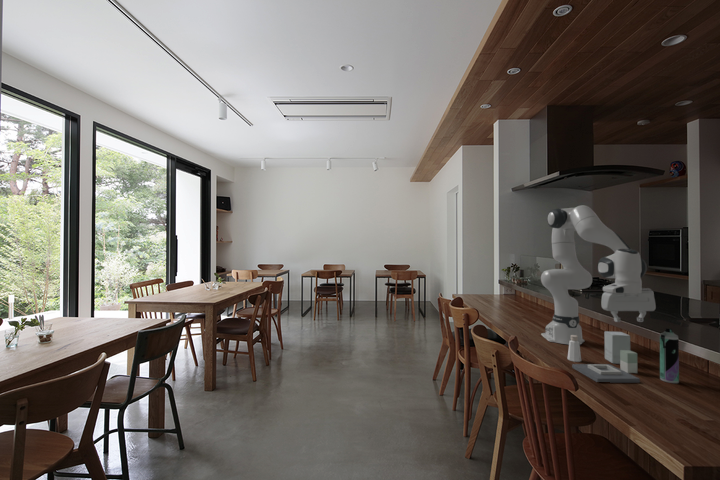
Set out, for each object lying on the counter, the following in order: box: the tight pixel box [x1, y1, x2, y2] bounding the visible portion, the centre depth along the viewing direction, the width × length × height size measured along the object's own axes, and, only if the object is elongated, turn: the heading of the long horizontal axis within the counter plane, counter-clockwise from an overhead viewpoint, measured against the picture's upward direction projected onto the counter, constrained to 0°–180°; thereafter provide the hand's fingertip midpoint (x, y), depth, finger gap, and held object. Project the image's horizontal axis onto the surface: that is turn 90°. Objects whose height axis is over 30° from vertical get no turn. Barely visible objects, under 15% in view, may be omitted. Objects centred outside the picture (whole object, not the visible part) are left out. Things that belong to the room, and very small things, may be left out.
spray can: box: [659, 328, 680, 384], centre depth 136 cm, size 6×6×20 cm
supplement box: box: [604, 331, 631, 365], centre depth 158 cm, size 7×7×13 cm
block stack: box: [619, 349, 638, 374], centre depth 146 cm, size 4×4×8 cm
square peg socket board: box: [571, 363, 641, 384], centre depth 142 cm, size 16×16×3 cm
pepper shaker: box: [567, 335, 582, 363], centre depth 160 cm, size 5×5×11 cm
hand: (628, 321), depth 146 cm, fingers open, 8 cm apart
